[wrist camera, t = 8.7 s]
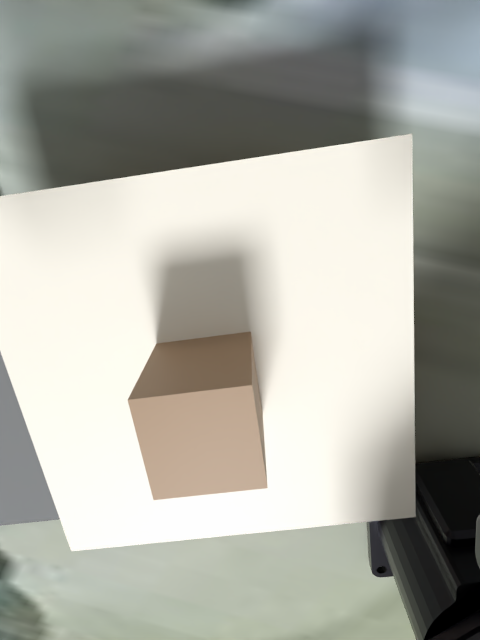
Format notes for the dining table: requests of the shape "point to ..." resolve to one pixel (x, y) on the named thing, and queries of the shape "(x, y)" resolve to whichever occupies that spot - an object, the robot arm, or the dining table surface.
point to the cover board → (214, 281)
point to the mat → (19, 465)
